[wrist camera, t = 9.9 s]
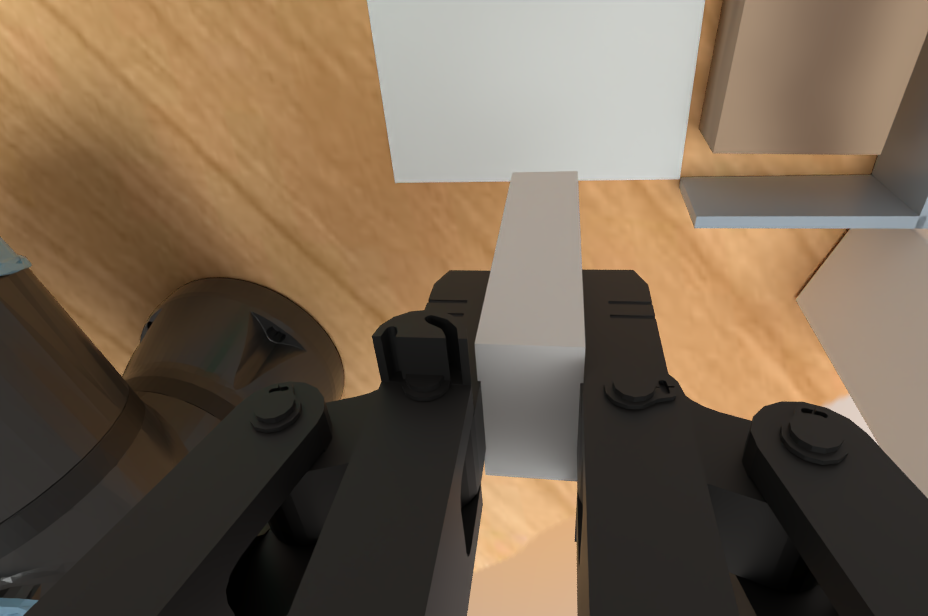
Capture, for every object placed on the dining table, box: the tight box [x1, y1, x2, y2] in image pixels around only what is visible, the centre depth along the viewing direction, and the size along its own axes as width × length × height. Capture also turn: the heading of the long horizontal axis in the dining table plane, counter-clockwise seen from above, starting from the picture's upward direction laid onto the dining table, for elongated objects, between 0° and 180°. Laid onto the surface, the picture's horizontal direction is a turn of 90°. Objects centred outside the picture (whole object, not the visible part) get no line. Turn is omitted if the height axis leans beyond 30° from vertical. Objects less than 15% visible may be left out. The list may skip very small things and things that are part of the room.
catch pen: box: [679, 32, 928, 229], centre depth 24 cm, size 10×13×5 cm
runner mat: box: [367, 0, 705, 183], centre depth 28 cm, size 16×12×1 cm
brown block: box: [699, 0, 928, 155], centre depth 25 cm, size 7×7×4 cm
